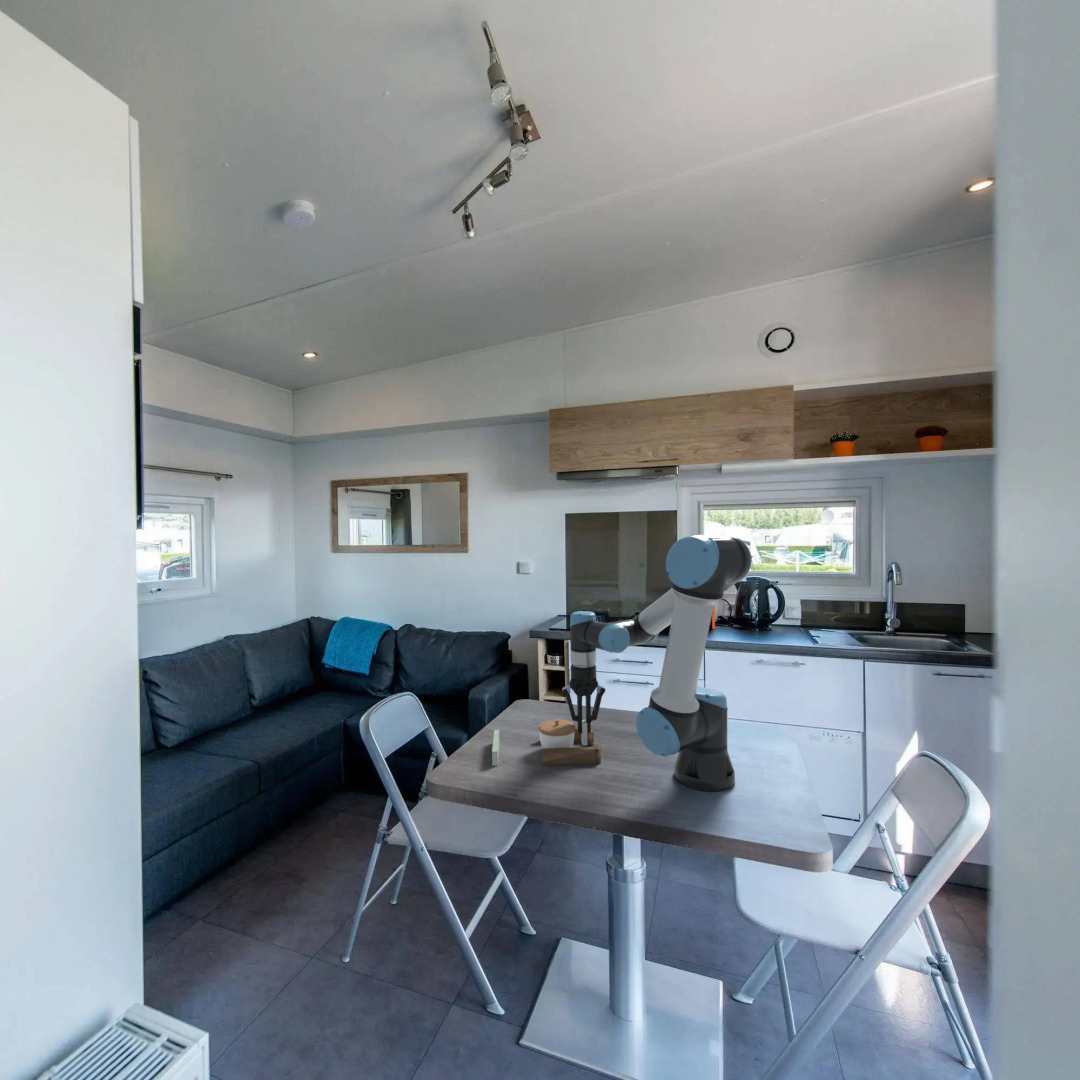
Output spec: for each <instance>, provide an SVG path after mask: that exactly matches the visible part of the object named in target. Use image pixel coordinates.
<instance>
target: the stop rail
mask: <svg viewBox="0 0 1080 1080" xmlns="http://www.w3.org/2000/svg"><path fill="white" fill-rule="evenodd" d="M491 749H492V750H491V757H492V758H491V761H492V762H491V763H492V764H491V766H492V767H497V766H498V765H499V755H500V754H499V752H500V729H494V730H493V740H492V748H491Z"/></svg>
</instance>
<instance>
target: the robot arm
mask: <svg viewBox="0 0 1080 1080" xmlns="http://www.w3.org/2000/svg"><path fill="white" fill-rule="evenodd" d="M752 559H753V558H752V554H751V551H750V548H749V546H748V545H747V544H746V543H745V542H744V541H743V540H742V539H740V538H738V537H737V536H734V535H731V534H693V535H689V536H684V537H682V538H680V539H678V540H677V541H676V542H674V543H673V545H672V546H671V547H670V548H669V550H668V553H667V555H666V559H665V560H666V561H665V569H666V572H667V573H668V575H667V576H668V579H669V580H670V581H671V585H670V586H671V588H670V589H669V590H668V591H667V592H665V593H664V594H662V595H661V596H660V597H659V598H657V599H656V600H655V601H653V603H651V604H650V605H648V606H647V607H646V608H644V609H643V610H642V611H640V613H639V614H637V615H636V616H635V617H633V618H631V619H625V620H617V621H612V622H603V621H597V617H596V613H595V612H593V611H588V610H586V611H585V610H584V611H583V610H580V611H574V612H572V613H570V618H569V619H570V620H569V621H570V622H569V623H570V624H569V633H570V634H569V636H570V639H569V640H570V642H569V644H570V645H569V646H570V664H571V665H570V680H569V683H568V684H567V686H563V687H562V688H561V690H562V691H561V692H562V693H563V694H564V696H565V698H566V702H567V705H568V709H569V712H570V713H569V714H570V716H571V720H572V721H573V722H577V727H578V732H579V733H581V741H580V742H581V744H582V746H588V741H587V733H590V732H591V726H592V725H591V724H592V722H593V721H597V719H598V715H599V712H600V708H601V703H602V698H603V696H604V694H605V692H606V688H605V686H604V685H600V684H599V682H598V680H597V666H596V665H597V664H596V663H597V650H602V651H604V652H609V653H616V654H621V653H623V652H624V651H625V650H626V649H627V648H628V647H633V646H637V645H646V644H648V643H651V642H653V641H656V639H658V637H659V634H660V632H662V631H663V630H664V629H665V628H667V627H669V626H670V628H669V633H668V637H667V638H668V639H667V643H666V648H665V654H664V657H663V659H664V660H663V663H662V668H661V673H660V680H659V684H658V686H657V687H655V688H654V689H652V690H651V692H650V697H649V702H648V705H647V707H644V708H642V709H641V710H639V711H638V714H637V715H636V720H635V727H636V732H637V735H638V736H639V738H640V740H641V743H642V744H643V745H644V747H645V748H646V749H647V750H648V751H650V752H651V753H652V754H654V755H656V756H659V757H668V756H673V755H676V754H677V756H676V759H675V762H674V764H673V765H674V768H673V770H674V771H673V772H674V775H673V776H674V778H675V779H676V780H677V781H678V782H679V783H681V784H683V785H684V786H685V787H689V788H692V789H695V790H699V791H706V792H720V791H725V790H729V789H730V788H732V787H733V786H735V783H736V774H735V773H736V772H735V769H734V766H733V762H732V761H731V760H732V759H731V758H730V753H729V751H728V710H729V706H728V702H727V697H726V695H725V694H724V693H723V692H721V691H719V690H716V689H714V688H708V687H702V686H698V682H699V678H700V673H701V669H702V664H703V657H704V655H705V649H706V644H707V640H708V635H709V630H710V626H711V620H712V616H713V613H714V612H713V610H714V606H715V604H716V603H719V602H720V601H722V600H723V598H724V592H725V591H727V590H728V589H730V588H732V586H734V585H736V584H738V583H739V582H740V581H742V580H743V579H744V578H745V577H746V576H747V575H748V574H749V572H750V569H751V567H752ZM571 690H572V691H573V692H574V694H575V695H576V706H577V707H576V710H577V711H576V713H577V714H576V713H575V709H574V704H573V701H572V698H571V693H572V691H571ZM595 691H596V695H595V700H594V704H593V707H592V704H591V702H592V700H591V699H592V695H593V693H594V692H595ZM583 697H584V698H585V719H583ZM591 708H592V709H591ZM591 712H592V713H591Z"/></svg>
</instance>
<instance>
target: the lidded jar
mask: <svg viewBox="0 0 1080 1080" xmlns="http://www.w3.org/2000/svg"><path fill="white" fill-rule="evenodd" d="M575 727H576V725H575V724H574V722H572V721H570V720H566V719H548V720H544V721H541V723H539V724H538V731H539V732H538V733H539V743H540V742H541V743H540V745H541V747H542V748H573V747H574V746H573V745H574V743H575V742H574V738H575Z"/></svg>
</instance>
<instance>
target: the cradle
mask: <svg viewBox="0 0 1080 1080" xmlns="http://www.w3.org/2000/svg"><path fill="white" fill-rule="evenodd" d="M594 733H595V732H594V730H593V727H592V725H591V732H590V733H587V745H588V746H583V747H582V746H581V747H580V746H579V747H578V746H577V747H574V746H573V747H571V748H543V747H542V751H541V753H542V754H541V757H542V758H541V759H542V761H541V762H542V763H541V764H542V766H550V765H551V766H552V765H553V766H554V765H555V766H556V765H557V766H558V765H559V766H560V765H578V764H579V765H584V764H587V765H589V764H601V761H602V760H601V759H602V756H601V755H602V754H601V751H602V750H601V747H600V744H599V742H595V740H594V739H595V737H594V736H595V734H594ZM575 742H578V743H579V742H581V733H579V732H578V726H575V738H574V743H575ZM539 743H540V744H541V742H540V741H539Z"/></svg>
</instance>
